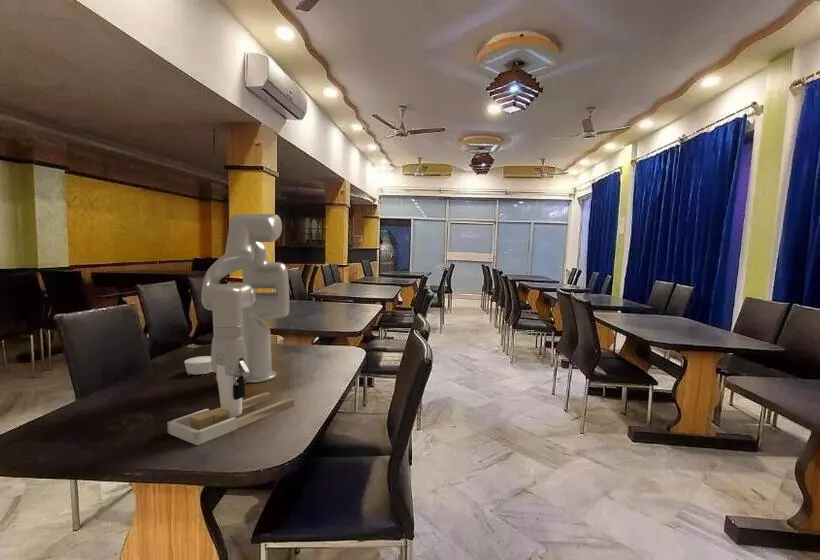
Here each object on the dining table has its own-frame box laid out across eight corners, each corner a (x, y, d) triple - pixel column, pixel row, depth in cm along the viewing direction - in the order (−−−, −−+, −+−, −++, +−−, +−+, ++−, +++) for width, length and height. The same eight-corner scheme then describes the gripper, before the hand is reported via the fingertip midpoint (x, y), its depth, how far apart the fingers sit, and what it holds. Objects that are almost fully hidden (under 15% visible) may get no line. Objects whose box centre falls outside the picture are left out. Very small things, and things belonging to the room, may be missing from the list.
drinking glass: (250, 412, 123) (248, 360, 122) (233, 421, 116) (231, 366, 115) (230, 409, 125) (228, 358, 124) (213, 418, 119) (210, 364, 117)
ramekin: (219, 373, 166) (219, 360, 166) (187, 379, 160) (186, 364, 160) (214, 367, 176) (213, 354, 175) (183, 372, 169) (182, 358, 169)
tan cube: (190, 432, 113) (190, 417, 113) (204, 426, 116) (204, 412, 116) (200, 435, 111) (199, 420, 110) (214, 429, 114) (213, 415, 114)
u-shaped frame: (167, 433, 112) (167, 421, 112) (207, 419, 121) (206, 408, 121) (197, 445, 105) (196, 433, 105) (236, 429, 114) (236, 418, 114)
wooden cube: (205, 426, 116) (205, 412, 116) (219, 421, 119) (218, 407, 119) (215, 430, 114) (214, 415, 114) (228, 424, 117) (228, 410, 117)
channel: (208, 419, 121) (207, 412, 121) (266, 398, 138) (266, 392, 138) (236, 429, 114) (235, 421, 114) (294, 405, 131) (293, 399, 131)
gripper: (197, 331, 120) (200, 394, 122) (236, 337, 111) (239, 406, 112) (221, 326, 127) (224, 386, 128) (260, 332, 117) (262, 397, 119)
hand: (231, 395), depth 120 cm, fingers closed on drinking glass, 6 cm apart
